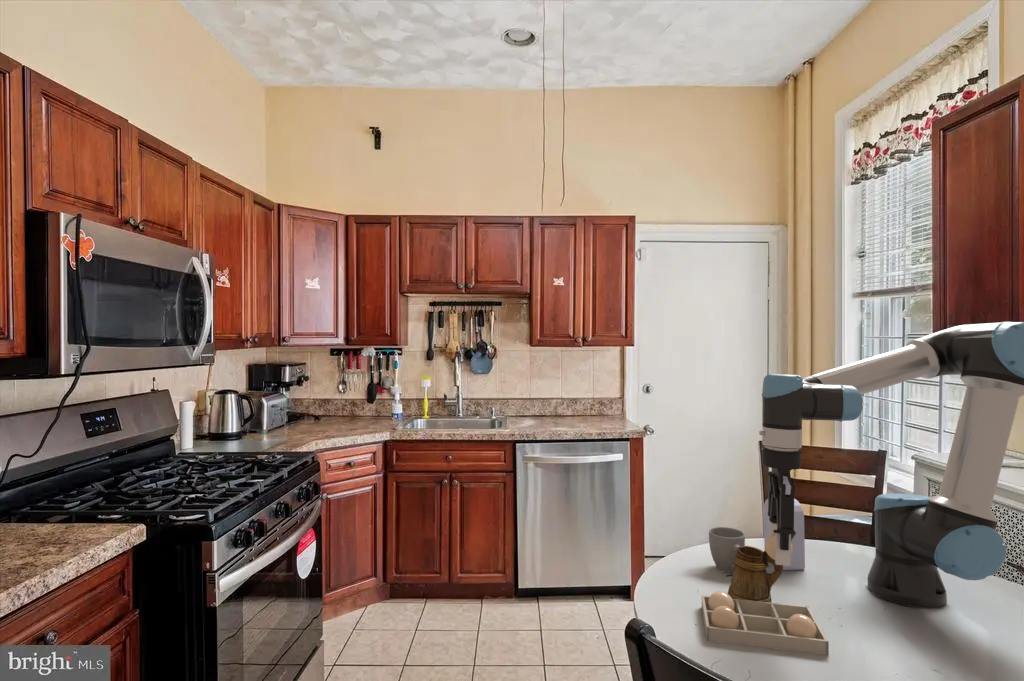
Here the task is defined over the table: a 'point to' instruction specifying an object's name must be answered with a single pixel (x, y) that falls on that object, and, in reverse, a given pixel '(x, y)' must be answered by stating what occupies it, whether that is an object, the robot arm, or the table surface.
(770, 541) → the egg
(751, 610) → the carton
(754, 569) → the wooden mug
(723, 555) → the mug
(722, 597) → the seated egg
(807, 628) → the seated egg
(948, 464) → the robot arm
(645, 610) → the table surface
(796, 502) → the soap bottle
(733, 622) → the seated egg
